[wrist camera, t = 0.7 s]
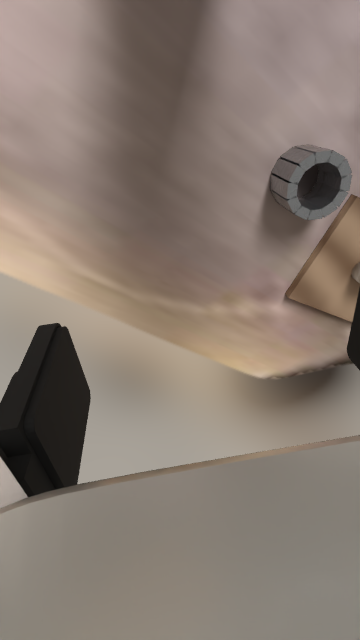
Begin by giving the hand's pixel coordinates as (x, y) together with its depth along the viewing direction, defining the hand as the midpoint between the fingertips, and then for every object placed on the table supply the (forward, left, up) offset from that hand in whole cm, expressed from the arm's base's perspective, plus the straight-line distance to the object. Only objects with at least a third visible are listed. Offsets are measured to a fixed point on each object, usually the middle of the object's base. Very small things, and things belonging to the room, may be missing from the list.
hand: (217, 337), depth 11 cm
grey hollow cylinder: (-6, +14, -30) cm, 33 cm away
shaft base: (0, +28, -30) cm, 41 cm away
